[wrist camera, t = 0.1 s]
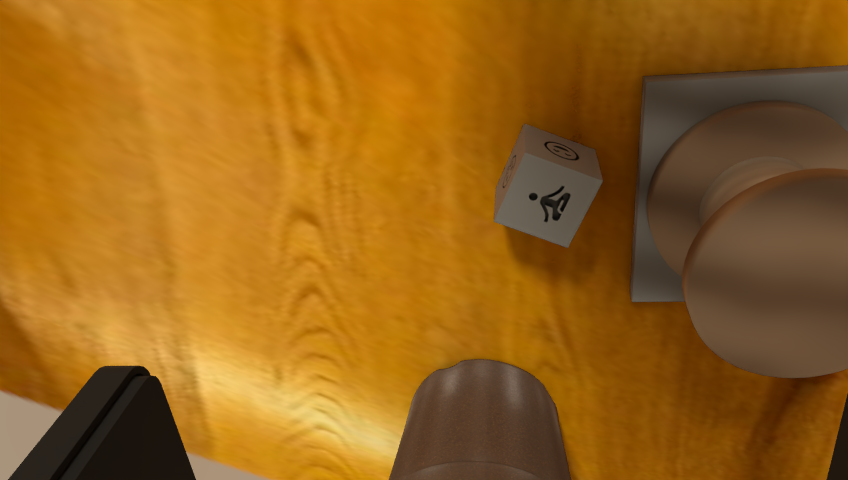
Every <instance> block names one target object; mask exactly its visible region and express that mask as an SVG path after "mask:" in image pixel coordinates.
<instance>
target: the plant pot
mask: <svg viewBox="0 0 848 480" xmlns="http://www.w3.org/2000/svg"><path fill="white" fill-rule="evenodd" d="M389 480H571V477H570V472H569V468H568V463H567V458H566V454H565V449H564V445H563V440H562V435H561V430H560V426H559V421H558V415H557V409H556V406H555V403H554V402H553V400H552V399H551V397H550V395H549V393H548V392H547V390H546V388H545V387H544V385H543V384H542V383H541V382H540V381H539V380H538V379H537V378H535V377H534V376H533V375H531V374H530V373H528V372H526V371H524V370H522V369H520V368H518V367H516V366H513V365H510V364H507V363H504V362H499V361H494V360H484V359H475V360H464V361H461V362H459V363H458V364H456V365H454V366H452V367H450V368H447V369H439V370H437V371H435V372H433V373H432V374H431V375H430V376H428V377H427V378H426V379H425V380H424V381H423V382H422V384H421V385H420V386H419V388H418V389H417V391H416V393H415V395H414V397H413V400H412V403H411V407H410V411H409V414H408V418H407V421H406V425H405V429H404V432H403V435H402V438H401V442H400V445H399V449H398V452H397V455H396V458H395V462H394V465H393V468H392V472H391V475H390V478H389Z"/></svg>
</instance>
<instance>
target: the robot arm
mask: <svg viewBox="0 0 848 480" xmlns="http://www.w3.org/2000/svg"><path fill="white" fill-rule="evenodd" d="M8 480H196V479H195V476H194V473H193V470H192V468H191V465H190V462H189V459H188V456H187V454H186V451H185V448H184V445H183V443H182V440H181V437H180V435H179V432H178V429H177V426H176V424H175V421H174V418H173V415H172V413H171V410H170V407H169V404H168V402H167V399H166V396H165V393H164V391H163V388H162V385H161V383H160V381H159V379H158V378H157V377H156V376H151V375H150V373H149V371H148V370H147V369H146V368H145V367H142V366H104V367H101V368H99V369H98V370H97V371H96V372H95V373H94V374H93V375H92V377H91V378H90V379H89V380H88V382H87V383H86V384H85V385H84V386H83V388H82V389H81V390H80V391H79V393H78V394H77V395H76V396H75V398H74V399H73V400H72V401H71V403H70V404H69V405H68V406H67V407H66V409H65V410H64V411H63V412H62V414H61V415H60V416H59V417H58V419H57V420H56V421H55V422H54V424H53V425H52V426H51V427H50V429H49V430H48V431H47V432H46V434H45V435H44V436H43V437H42V438H41V440H40V441H39V442H38V443H37V445H36V446H35V447H34V448H33V450H32V451H31V452H30V453H29V454H28V456H27V457H26V458H25V459H24V461H23V462H22V463H21V464H20V466H19V467H18V468H17V469H16V471H15V472H14V473H13V474H12V476H11V477H10V478H9V479H8ZM827 480H848V394H847V398H846V403H845V407H844V411H843V415H842V419H841V423H840V427H839V431H838V435H837V440H836V444H835V448H834V452H833V456H832V460H831V464H830V468H829V473H828V477H827Z"/></svg>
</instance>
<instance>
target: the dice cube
mask: <svg viewBox="0 0 848 480" xmlns="http://www.w3.org/2000/svg"><path fill="white" fill-rule="evenodd" d="M602 182H603V179H602V175H601V171H600V167H599V163H598V159H597V155H596V151H595V149H592V148H589V147H587V146H584V145H581V144H579V143H576V142H573V141H570V140H568V139H565V138H562V137H560V136H557V135H554V134H551V133H549V132H546V131H543V130H541V129H538V128H535V127H532V126H530V125H527V124H524V125H523V127H522V130H521V132H520V134H519V137H518V139H517V141H516V143H515V146H514V148H513V150H512V153H511V155H510V157H509V159H508V162H507V164H506V166H505V169H504V171H503V173H502V175H501V178H500V180H499V182H498V185H497V187H496V195H495V211H494V222H496V223H499V224H502V225H505V226H508V227H510V228H513V229H516V230H519V231H522V232H524V233H527V234H530V235H533V236H536V237H538V238H541V239H544V240H547V241H550V242H552V243H555V244H558V245H561V246H563V247H566V248H568V247H569V245H570V243H571V241H572V239H573V237H574V235H575V233H576V231H577V230H578V228H579V226H580V224H581V222H582V220H583V218H584V216H585V214H586V212H587V211H588V209H589V207H590V205H591V203H592V201H593V199H594V197H595V195H596V193H597V192H598V190H599V188H600V186H601V184H602Z"/></svg>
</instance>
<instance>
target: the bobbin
mask: <svg viewBox="0 0 848 480" xmlns="http://www.w3.org/2000/svg"><path fill="white" fill-rule="evenodd" d="M630 296H631V300H632V302H685V303H686V306H687V309H688V312H689V315H690V317H691V320H692V323H693V325H694V327H695V329H696V331H697V333H698V335H699V336H700V338H701V339H702V340H703V342H704V343H705V344H706V345H707V346H708V347H709V348H710V349H711V350H712V351H713V352H714V353H715V354H716V355H718V356H719V357H721V358H722V359H723V360H725V361H727V362H728V363H730V364H732V365H734V366H736V367H738V368H741V369H743V370H746V371H749V372H752V373H756V374H760V375H765V376H771V377H780V378H806V377H814V376H821V375H826V374H830V373H835V372H838V371H841V370H845V369H848V65H846V66H828V67H809V68H790V69H772V70H753V71H735V72H716V73H697V74H679V75H660V76H643V89H642V105H641V121H640V137H639V153H638V168H637V184H636V200H635V216H634V232H633V248H632V264H631V280H630Z"/></svg>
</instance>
